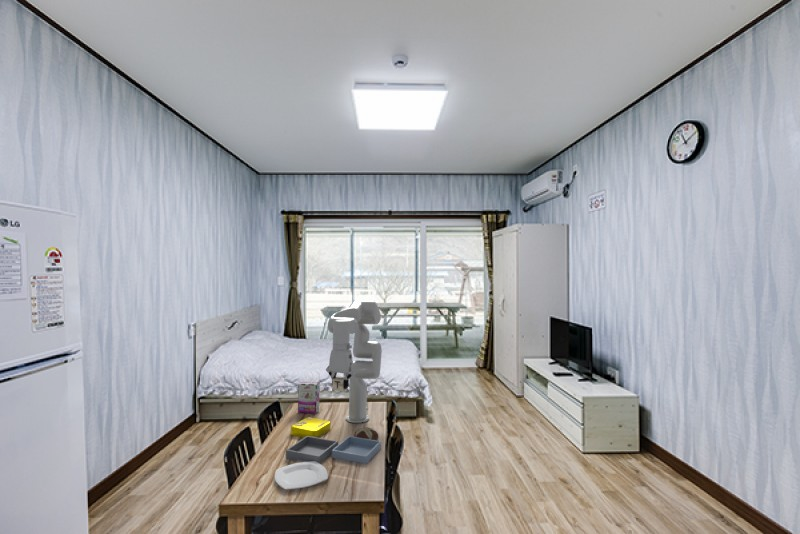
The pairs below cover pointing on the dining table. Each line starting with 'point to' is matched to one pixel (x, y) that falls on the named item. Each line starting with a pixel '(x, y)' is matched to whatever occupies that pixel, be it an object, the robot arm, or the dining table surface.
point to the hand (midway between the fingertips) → (340, 387)
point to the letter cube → (338, 384)
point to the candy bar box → (308, 397)
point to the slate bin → (356, 449)
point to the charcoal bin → (311, 449)
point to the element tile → (310, 427)
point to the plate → (300, 475)
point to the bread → (366, 433)
